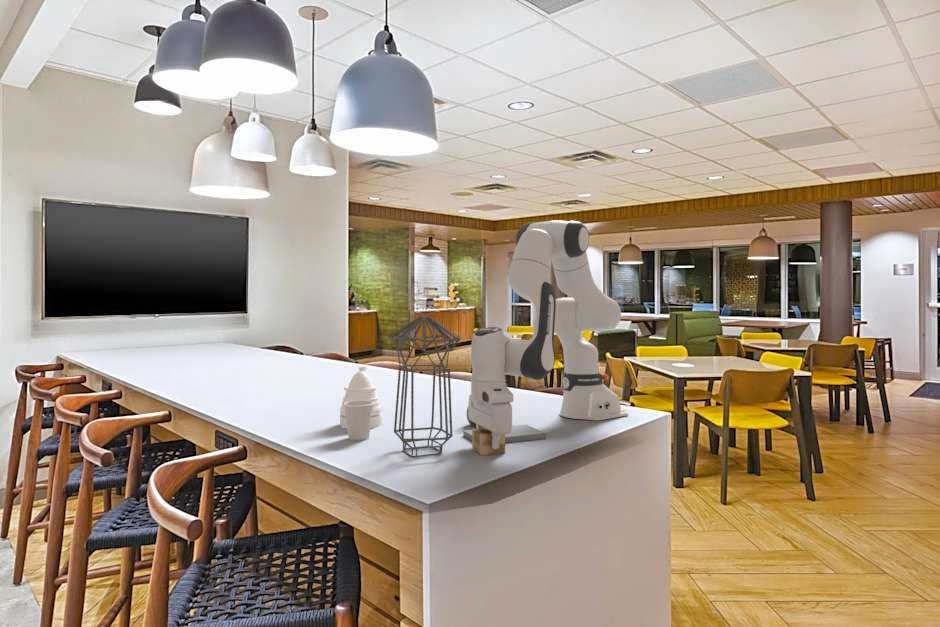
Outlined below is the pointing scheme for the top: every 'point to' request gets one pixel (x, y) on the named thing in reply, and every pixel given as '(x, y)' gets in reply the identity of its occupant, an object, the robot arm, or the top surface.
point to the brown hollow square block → (486, 442)
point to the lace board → (516, 433)
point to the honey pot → (362, 397)
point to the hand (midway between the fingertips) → (488, 444)
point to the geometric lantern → (423, 339)
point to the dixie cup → (358, 418)
